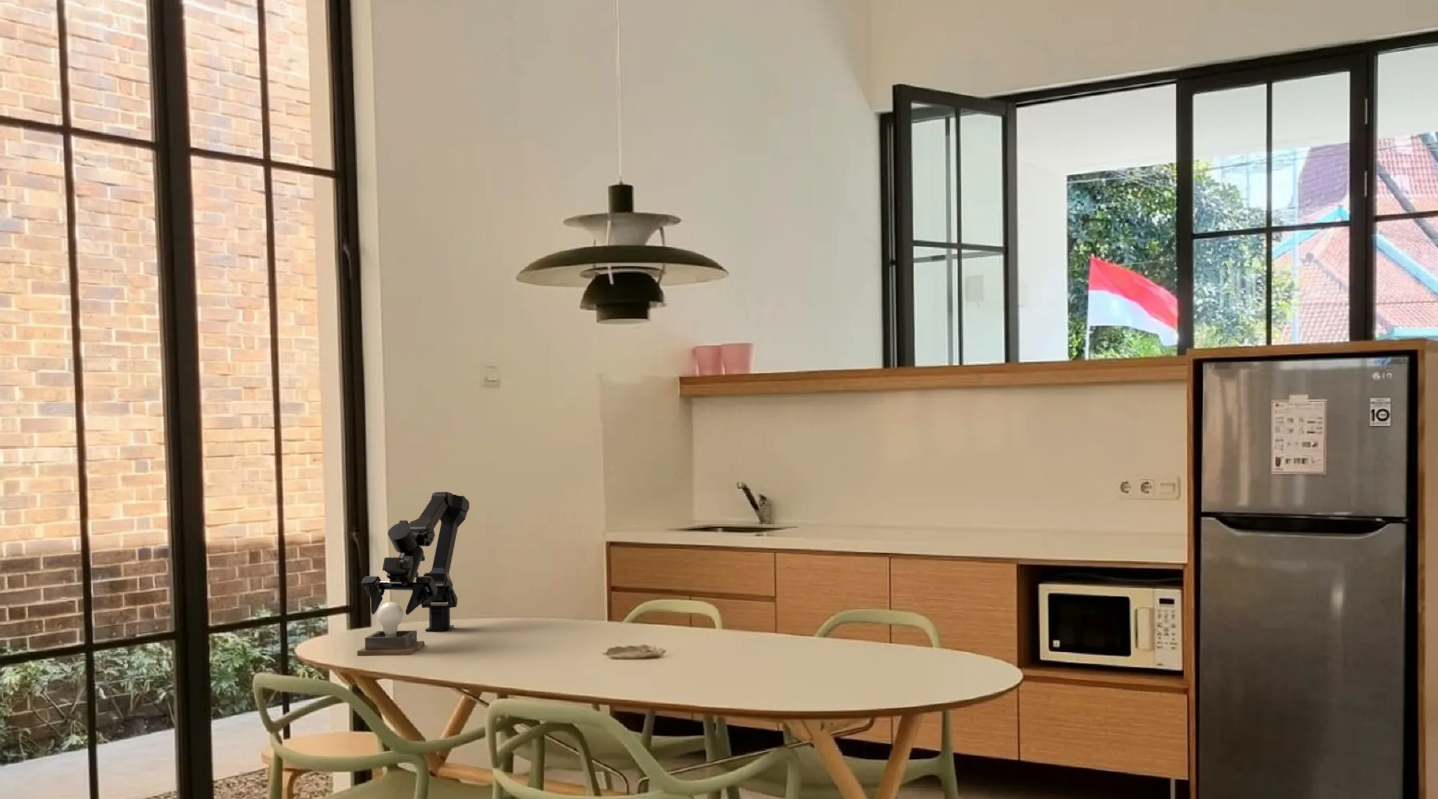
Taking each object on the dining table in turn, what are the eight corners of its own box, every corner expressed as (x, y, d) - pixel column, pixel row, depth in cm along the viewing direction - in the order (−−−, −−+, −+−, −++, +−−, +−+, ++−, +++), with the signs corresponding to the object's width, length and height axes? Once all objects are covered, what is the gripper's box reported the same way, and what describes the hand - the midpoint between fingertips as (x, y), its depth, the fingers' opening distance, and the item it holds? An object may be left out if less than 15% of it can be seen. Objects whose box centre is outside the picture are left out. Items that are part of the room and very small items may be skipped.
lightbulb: (387, 648, 296) (386, 604, 297) (372, 646, 300) (371, 602, 301) (409, 644, 301) (407, 600, 301) (394, 643, 305) (392, 599, 306)
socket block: (374, 645, 307) (374, 630, 307) (424, 644, 306) (424, 629, 307) (357, 655, 294) (357, 639, 294) (409, 654, 294) (409, 638, 294)
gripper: (363, 545, 307) (343, 594, 296) (432, 544, 304) (414, 594, 293) (378, 571, 314) (359, 620, 303) (445, 571, 311) (428, 621, 300)
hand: (389, 613), depth 300 cm, fingers open, 9 cm apart
